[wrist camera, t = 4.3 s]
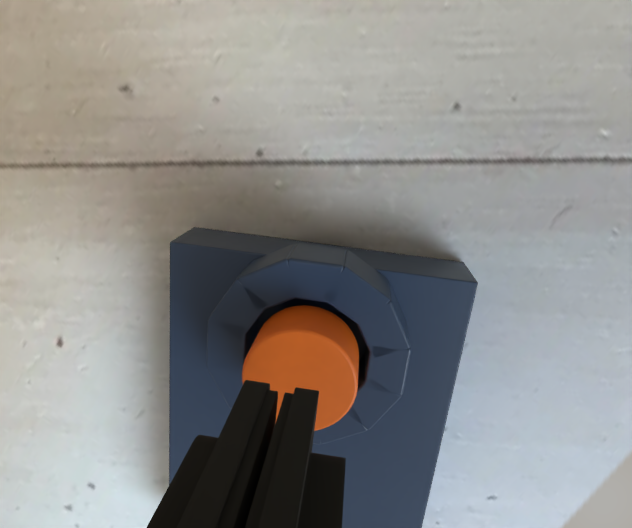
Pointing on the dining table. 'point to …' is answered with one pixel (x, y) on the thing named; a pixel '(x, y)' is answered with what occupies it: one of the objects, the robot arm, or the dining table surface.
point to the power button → (307, 359)
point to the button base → (373, 343)
